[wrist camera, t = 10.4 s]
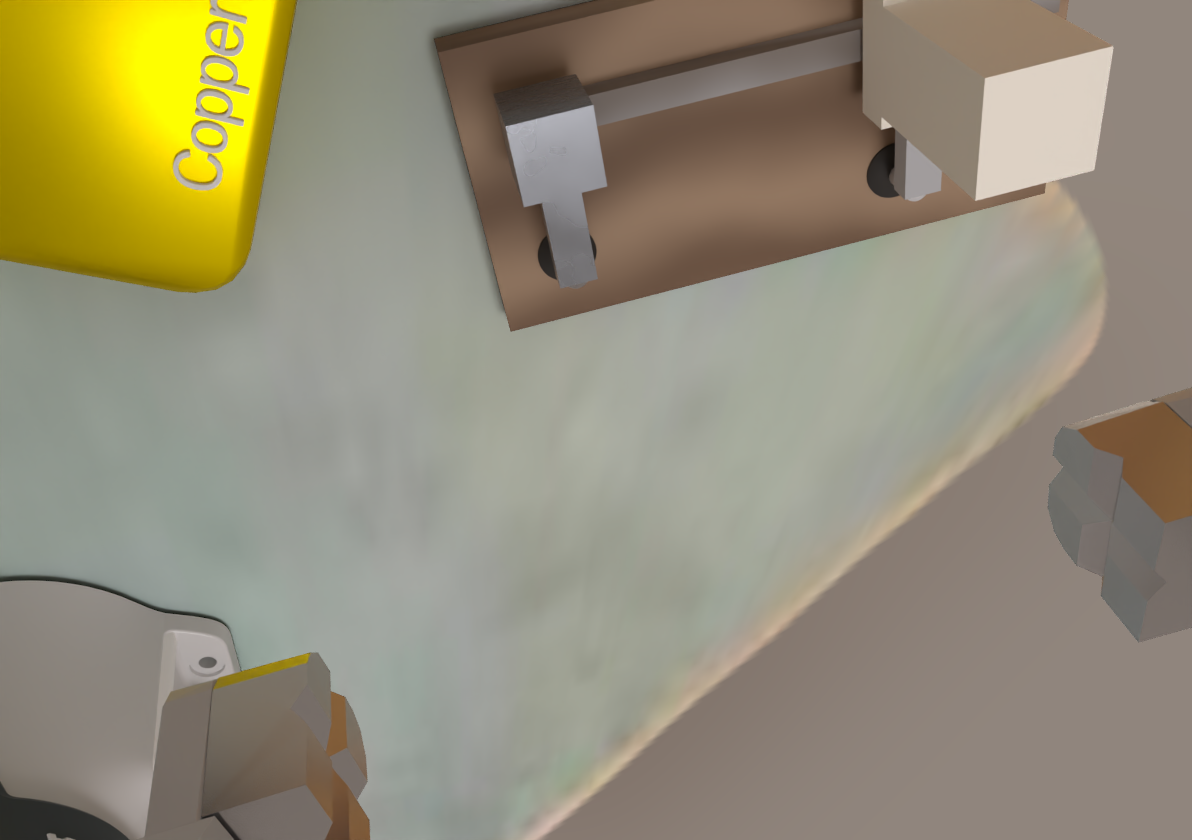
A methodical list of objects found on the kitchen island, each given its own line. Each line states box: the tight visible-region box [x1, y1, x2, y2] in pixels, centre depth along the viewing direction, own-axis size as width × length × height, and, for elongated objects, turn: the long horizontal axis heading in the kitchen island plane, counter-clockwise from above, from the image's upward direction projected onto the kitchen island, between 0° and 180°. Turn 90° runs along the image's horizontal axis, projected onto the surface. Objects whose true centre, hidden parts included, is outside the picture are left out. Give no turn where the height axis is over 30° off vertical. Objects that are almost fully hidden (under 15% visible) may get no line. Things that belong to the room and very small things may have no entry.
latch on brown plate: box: [434, 0, 1069, 331], centre depth 41 cm, size 12×24×2 cm, turn 99°
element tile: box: [0, 0, 297, 293], centre depth 33 cm, size 15×15×5 cm
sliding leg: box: [863, 0, 1114, 201], centre depth 37 cm, size 9×4×10 cm, turn 9°
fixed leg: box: [493, 74, 607, 289], centre depth 38 cm, size 8×3×4 cm, turn 10°
